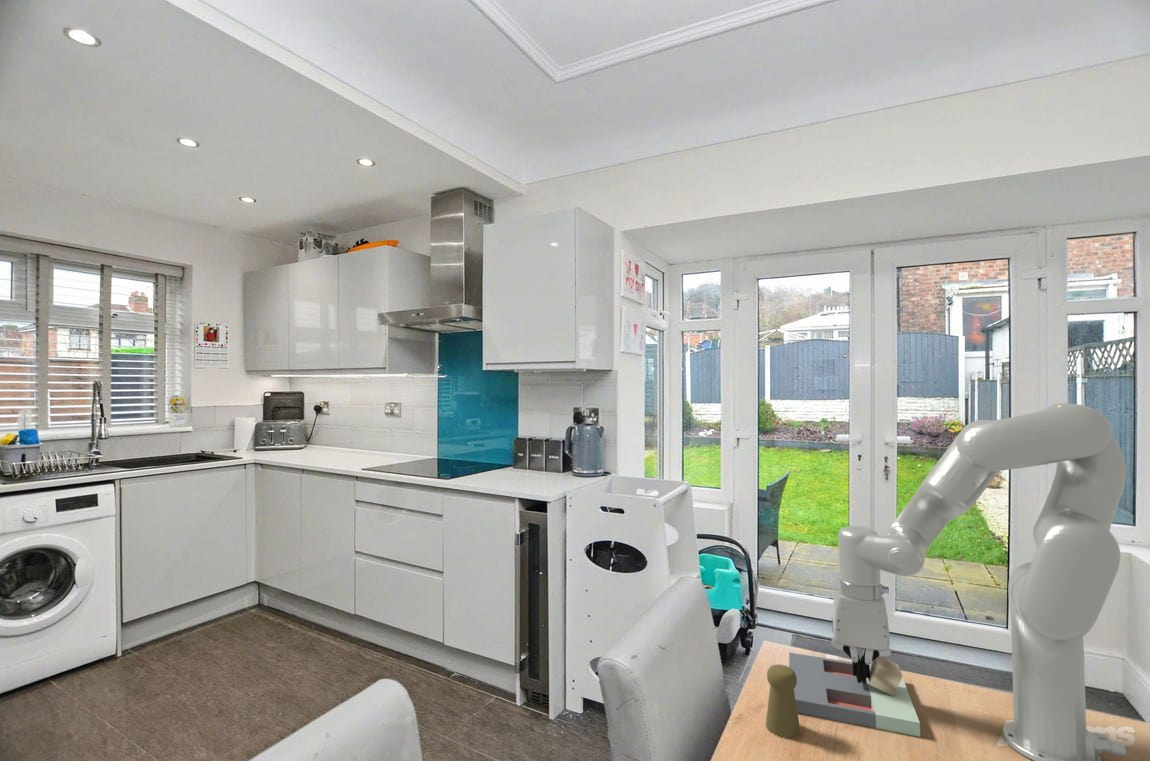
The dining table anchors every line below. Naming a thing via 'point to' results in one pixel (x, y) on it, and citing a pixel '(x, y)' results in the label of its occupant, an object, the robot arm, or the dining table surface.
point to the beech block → (885, 675)
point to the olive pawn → (782, 702)
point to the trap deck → (849, 696)
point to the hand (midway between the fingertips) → (861, 680)
